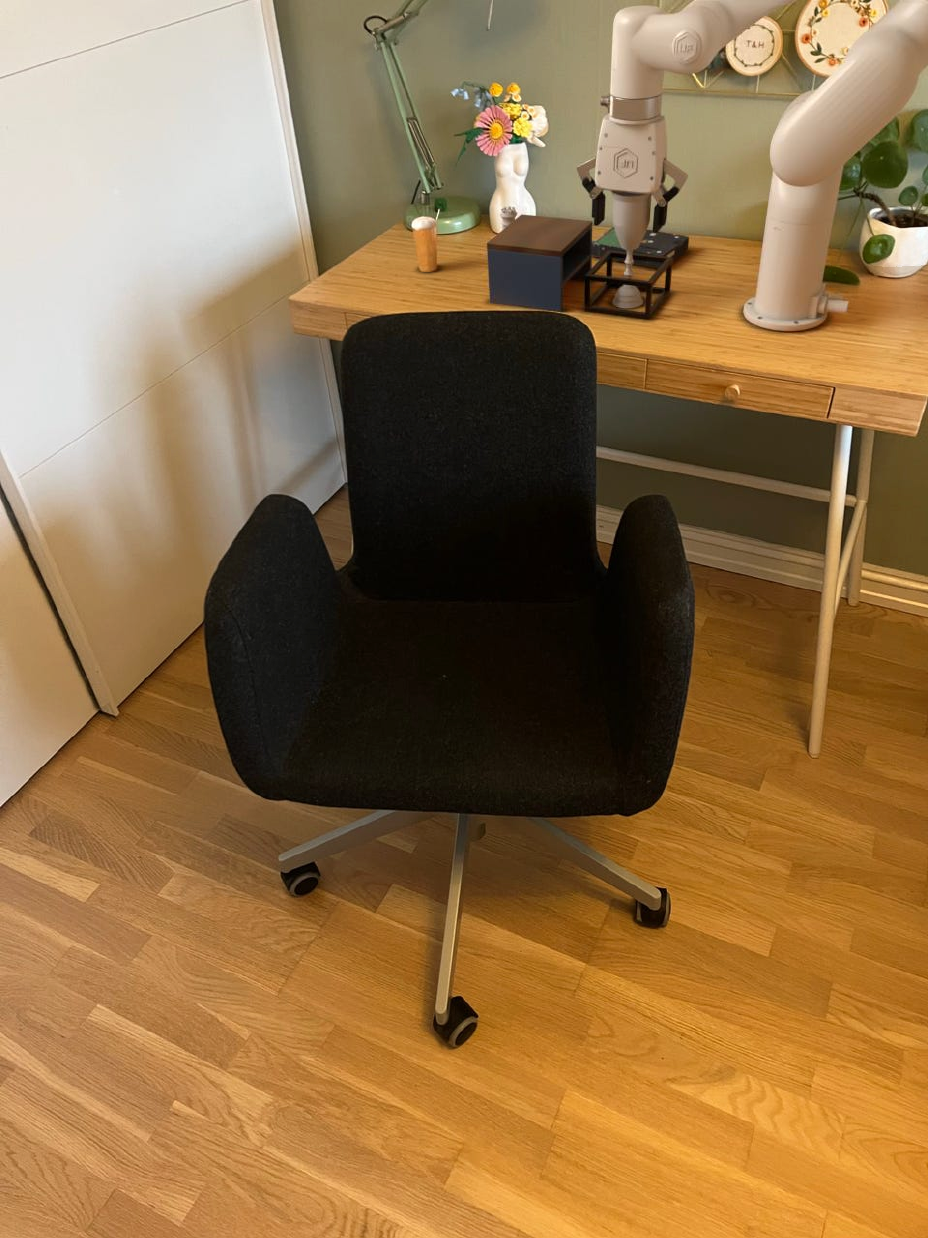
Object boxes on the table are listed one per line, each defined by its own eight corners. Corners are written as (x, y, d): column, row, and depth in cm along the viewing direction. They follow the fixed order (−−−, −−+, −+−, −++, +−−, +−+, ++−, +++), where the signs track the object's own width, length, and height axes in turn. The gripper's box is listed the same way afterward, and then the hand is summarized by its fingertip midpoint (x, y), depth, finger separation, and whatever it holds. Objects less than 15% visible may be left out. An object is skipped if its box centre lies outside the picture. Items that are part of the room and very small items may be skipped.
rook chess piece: (516, 246, 182) (514, 202, 176) (525, 254, 178) (524, 209, 173) (494, 251, 181) (492, 207, 175) (503, 259, 177) (501, 214, 172)
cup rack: (670, 292, 161) (672, 257, 157) (649, 319, 154) (651, 283, 150) (607, 285, 165) (608, 250, 161) (583, 311, 158) (584, 275, 154)
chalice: (647, 311, 156) (653, 196, 144) (604, 310, 157) (608, 196, 146) (649, 293, 161) (656, 180, 150) (608, 292, 163) (612, 180, 151)
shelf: (591, 279, 167) (592, 220, 161) (561, 312, 158) (560, 251, 152) (523, 271, 172) (521, 214, 166) (489, 302, 163) (486, 242, 157)
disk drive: (688, 251, 174) (616, 238, 181) (690, 235, 172) (617, 222, 179) (662, 271, 168) (588, 256, 175) (663, 255, 166) (589, 241, 173)
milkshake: (448, 269, 175) (444, 212, 169) (421, 275, 174) (415, 218, 168) (439, 261, 179) (435, 205, 172) (412, 267, 177) (406, 211, 171)
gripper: (570, 109, 141) (567, 228, 152) (685, 117, 135) (674, 241, 146) (588, 96, 146) (585, 212, 157) (700, 103, 140) (688, 224, 151)
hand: (628, 226), depth 152 cm, fingers open, 9 cm apart
